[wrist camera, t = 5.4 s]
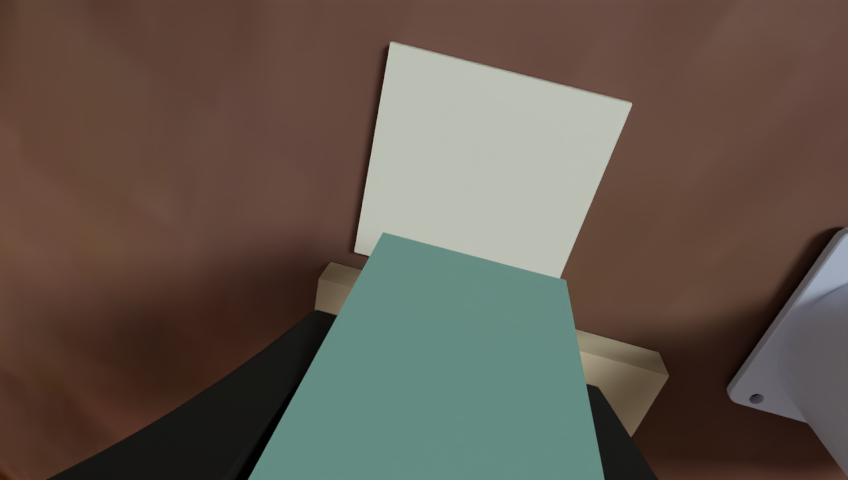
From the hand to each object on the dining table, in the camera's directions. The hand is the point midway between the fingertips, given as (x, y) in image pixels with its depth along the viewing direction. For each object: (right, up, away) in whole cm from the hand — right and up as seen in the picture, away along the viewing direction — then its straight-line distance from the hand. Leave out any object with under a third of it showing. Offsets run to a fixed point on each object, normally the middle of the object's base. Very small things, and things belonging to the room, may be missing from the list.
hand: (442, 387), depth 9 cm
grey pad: (+2, +5, +8) cm, 10 cm away
